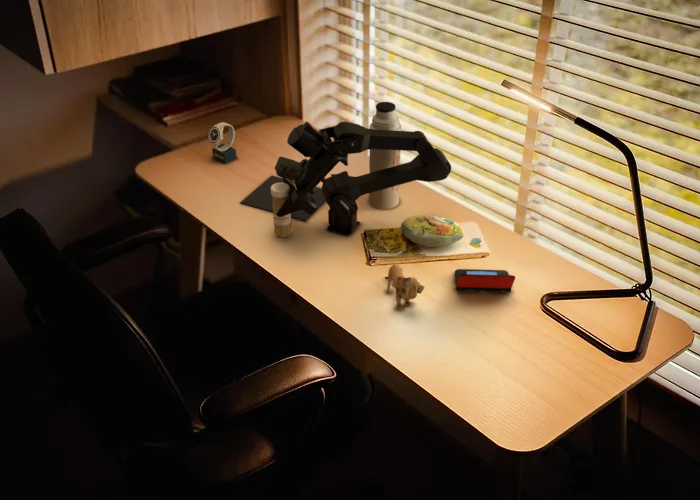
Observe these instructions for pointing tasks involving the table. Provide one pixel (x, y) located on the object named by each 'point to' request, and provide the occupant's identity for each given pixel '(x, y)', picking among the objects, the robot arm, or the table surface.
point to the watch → (224, 150)
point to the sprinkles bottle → (278, 199)
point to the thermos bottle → (384, 155)
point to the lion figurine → (403, 286)
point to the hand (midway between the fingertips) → (276, 211)
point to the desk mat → (264, 198)
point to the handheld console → (483, 280)
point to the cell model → (431, 230)
